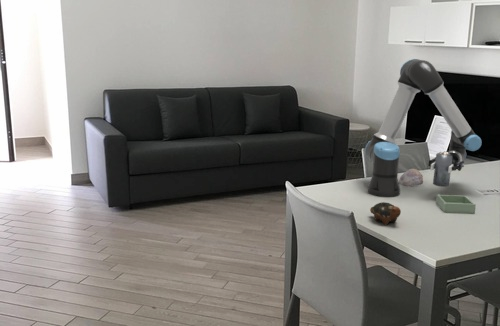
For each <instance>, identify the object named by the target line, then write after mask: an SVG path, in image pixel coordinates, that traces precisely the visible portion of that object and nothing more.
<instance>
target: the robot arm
mask: <svg viewBox="0 0 500 326" xmlns="http://www.w3.org/2000/svg"><path fill="white" fill-rule="evenodd" d="M399 75H400V76H399V78H398V80H397V85H398V88H397V90H396V92H395V94H394V97H393V99H392V101H391V104H390V106H389V108H388V110H387V112H386V115H385V116H384V119H383V120H382V121H383V122H382V124H381V126H380V128H379V130H378V131H377V132H376V133H374V134H373V136H372V138H371V140H369V141H368V142H367V143H366V145H365V148H364V149H365V150H364V153H365V156H366V159H367V160H368V161H369V162H370V163H372V173H371V178H370V180H369V183H368V185H367V189H366V190H367V191H366V192H367V193H368V194H370V195H372V196H376V197H384V198H391V197H393V198H394V197H398V196H399V195H400V194H401V188H400V184H399V179H398V173H399V162H400V154H401V152H400V147H399V145H397V141H396V137H397V136H398V133H399V131H400V129H401V126H402V125H403V123H404V121H405V118H406V116H407V113H408V111H409V110H410V107H411V105H412V103H413V101H414V99H415V96H416V94H417V93H420V92H423V93H424V95H427V96H428V97H429V98H430V99H431V101H432V103H433V104H434V105H435V107H436V108H437V110H438V111H439V113H440V114H441V117H442V118H443V119H444V121H445V122H446V123H447V125H448V126H449V128H450V129H451V130H450V141H449V142H450V143H449V148H448V149H449V150H448V152H449V153H450V154H451V155H453V157H452V165H451V166H449V169H448V173H452V172H453V171H454V172H455V171H461V170H462V169H463V168H464V167H465V160H466V157H467V152H466V150H467V151H470V152H475V151H477V150H478V151H479V149H480V148H481V146H482V139H481V137H480V136H479V135H477V134H476V133H475V132H474V130H473V129H472V127H471V126H470V125H469V123H468V121H467V120H466V118H465V117H464V115H463V114H462V112H461V111H460V109H459V107H458V106H457V103H455V101H454V100H453V99H452V96H451V95H450V94H449V92H448V90H447V89H446V87H445V86H444V80H443V79H442V77H441V76H440V74H439V72H438V70H437V69H436V68H435V67H434V65H433V64H432V63H431V62H430V61H428V60H423V59H419V58H412V59H409V60H406V62H404V63H403V64H402V65H401V68H400V70H399ZM421 90H422V91H421ZM435 161H436V156H435V157H434V158H432V159H429V160H428V167H430V171H434V170H435Z"/></svg>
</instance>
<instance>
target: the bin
mask: <svg viewBox="0 0 500 326" xmlns="http://www.w3.org/2000/svg"><path fill="white" fill-rule="evenodd" d="M435 204H436V206H437V207H439V209H441V211H442V212H443V213H445V214H446V213H447V214H448V213H450V214H473V215H474V214H475V213H476V212H475V211H476V203H475V202H474V201H473V200H472V199H470V198H469V197H468V196H467V195H455V194H454V195H453V194H452V195H451V194H450V195H449V194H437V195H436V202H435Z"/></svg>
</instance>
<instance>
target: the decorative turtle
mask: <svg viewBox="0 0 500 326" xmlns="http://www.w3.org/2000/svg"><path fill="white" fill-rule="evenodd" d="M369 209H370V213H371V214H373V216H374V219H375V221H376V222H381V223H382V224H383V225H385V226H387V225H388V224H389V222H391V223H393V224H394V223H396V221H397V219H398V218H399V217H400V215H401V211H402V210H401V209H400V207H399V206H395V205H394V204H392V203H389V202H385V201H383V202H382V201H381V202H378V203H376V204H375V205H373V206H372V207H370V208H369Z"/></svg>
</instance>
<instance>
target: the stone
mask: <svg viewBox="0 0 500 326" xmlns="http://www.w3.org/2000/svg"><path fill="white" fill-rule="evenodd" d="M423 177H424V175H423V174H422V172H421V171H420V170H418V169H416V168H410V169H407V170H406V171H405V172H403V174H402V175H401V176H400V178H399V179H398V183H399V185H402V186H405V187H407V188H408V187H409V188H412V187H418V186H421V185H423V183H424V178H423Z"/></svg>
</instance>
